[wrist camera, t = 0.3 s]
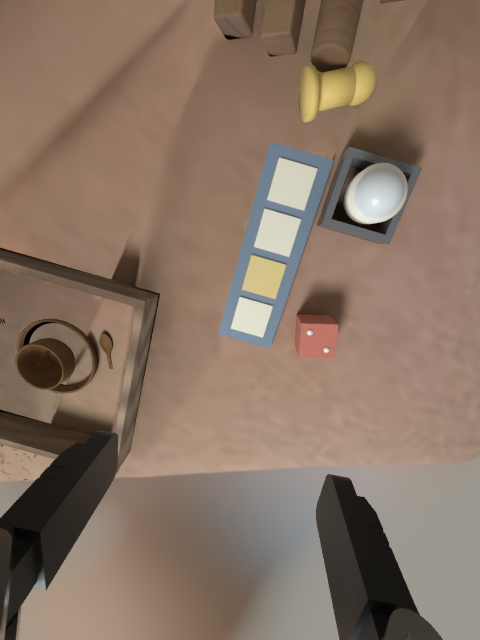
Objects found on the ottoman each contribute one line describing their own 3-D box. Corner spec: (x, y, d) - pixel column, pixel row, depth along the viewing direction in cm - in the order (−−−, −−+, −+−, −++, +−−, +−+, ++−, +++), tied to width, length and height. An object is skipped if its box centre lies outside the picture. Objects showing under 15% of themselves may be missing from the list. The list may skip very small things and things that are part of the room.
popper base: (341, 154, 31) (349, 146, 28) (407, 174, 31) (421, 167, 28) (316, 225, 33) (322, 224, 30) (378, 243, 33) (389, 243, 30)
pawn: (308, 130, 29) (374, 116, 28) (313, 79, 25) (391, 62, 24) (297, 109, 31) (359, 95, 30) (300, 58, 27) (372, 42, 26)
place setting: (18, 386, 44) (-17, 408, 38) (-17, 261, 38) (-65, 265, 32) (122, 388, 42) (101, 411, 37) (101, 259, 37) (73, 263, 31)
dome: (353, 163, 29) (371, 148, 24) (402, 178, 29) (429, 166, 24) (334, 216, 31) (347, 212, 26) (381, 230, 31) (402, 228, 26)
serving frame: (-23, 241, 37) (-65, 241, 32) (160, 293, 37) (145, 301, 32) (-20, 408, 45) (-53, 428, 40) (130, 451, 45) (114, 475, 40)
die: (296, 313, 37) (301, 323, 32) (329, 314, 36) (338, 324, 32) (294, 344, 38) (298, 357, 33) (326, 345, 37) (334, 358, 33)
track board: (269, 144, 31) (270, 140, 30) (331, 162, 31) (334, 159, 30) (219, 331, 38) (218, 334, 37) (269, 346, 38) (270, 349, 37)
